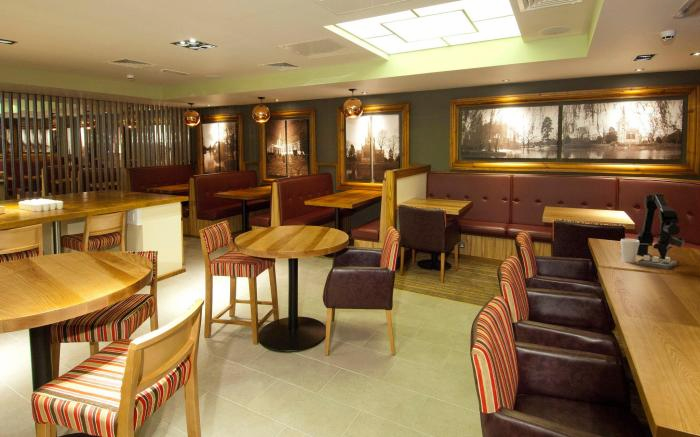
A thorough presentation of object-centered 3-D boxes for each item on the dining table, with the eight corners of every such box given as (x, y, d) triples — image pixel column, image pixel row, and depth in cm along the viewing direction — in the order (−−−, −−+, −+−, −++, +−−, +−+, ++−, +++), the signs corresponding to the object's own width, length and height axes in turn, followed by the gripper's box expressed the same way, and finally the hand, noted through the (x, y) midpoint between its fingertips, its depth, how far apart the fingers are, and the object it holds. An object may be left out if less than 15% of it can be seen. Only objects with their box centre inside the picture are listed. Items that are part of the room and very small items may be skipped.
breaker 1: (644, 259, 254) (644, 255, 254) (649, 260, 252) (650, 255, 252) (643, 260, 253) (643, 255, 252) (648, 260, 251) (648, 256, 250)
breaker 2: (664, 261, 249) (664, 256, 249) (669, 262, 247) (670, 257, 247) (663, 261, 248) (663, 257, 247) (668, 262, 246) (669, 258, 246)
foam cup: (632, 259, 263) (634, 238, 261) (641, 263, 254) (643, 241, 252) (616, 259, 264) (617, 238, 262) (624, 263, 255) (625, 241, 253)
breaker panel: (646, 259, 262) (646, 256, 262) (676, 264, 251) (676, 260, 250) (637, 264, 252) (637, 261, 252) (668, 269, 241) (668, 265, 240)
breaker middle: (653, 260, 251) (653, 256, 250) (658, 261, 249) (659, 257, 249) (652, 261, 249) (652, 257, 249) (657, 262, 247) (658, 257, 247)
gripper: (678, 236, 229) (676, 264, 231) (688, 231, 241) (685, 258, 243) (654, 233, 237) (651, 261, 240) (664, 229, 249) (661, 255, 251)
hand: (663, 259), depth 243 cm, fingers closed
